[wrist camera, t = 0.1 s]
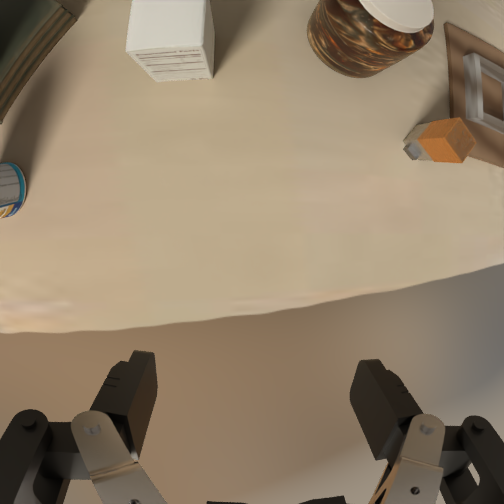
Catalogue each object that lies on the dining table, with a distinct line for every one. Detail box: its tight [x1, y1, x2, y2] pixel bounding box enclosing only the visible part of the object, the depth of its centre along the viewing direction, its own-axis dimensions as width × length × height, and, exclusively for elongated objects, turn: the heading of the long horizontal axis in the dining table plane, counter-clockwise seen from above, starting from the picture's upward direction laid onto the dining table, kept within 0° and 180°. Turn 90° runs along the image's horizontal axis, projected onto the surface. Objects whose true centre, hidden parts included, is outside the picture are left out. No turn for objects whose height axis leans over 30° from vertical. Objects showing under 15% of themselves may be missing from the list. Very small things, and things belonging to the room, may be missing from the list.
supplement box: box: [125, 0, 215, 82], centre depth 27 cm, size 7×7×13 cm
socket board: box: [444, 23, 504, 168], centre depth 34 cm, size 22×16×4 cm
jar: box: [307, 0, 434, 78], centre depth 26 cm, size 12×12×15 cm
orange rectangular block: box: [403, 117, 477, 163], centre depth 33 cm, size 5×4×10 cm
